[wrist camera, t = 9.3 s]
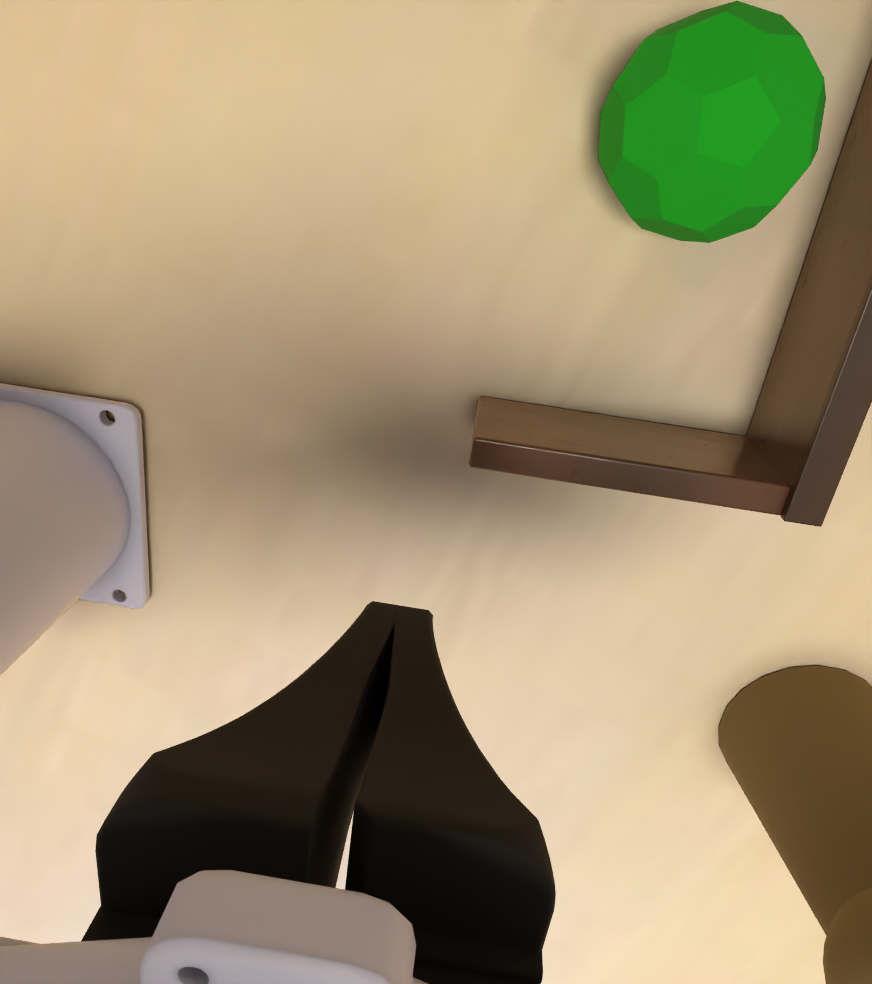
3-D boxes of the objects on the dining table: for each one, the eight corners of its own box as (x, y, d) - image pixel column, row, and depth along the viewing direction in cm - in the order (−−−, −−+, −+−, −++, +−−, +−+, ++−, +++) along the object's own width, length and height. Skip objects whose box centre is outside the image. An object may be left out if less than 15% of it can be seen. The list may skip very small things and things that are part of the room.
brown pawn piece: (805, 637, 25) (1007, 945, 15) (924, 723, 26) (1186, 1066, 16) (684, 737, 27) (787, 1063, 17) (797, 813, 28) (956, 1162, 18)
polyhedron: (614, 258, 20) (644, 280, 16) (567, 75, 19) (586, 45, 14) (795, 194, 19) (879, 199, 15) (763, -7, 18) (848, -68, 13)
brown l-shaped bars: (474, 421, 23) (467, 472, 19) (597, -345, 15) (628, -522, 12) (766, 466, 23) (821, 527, 19) (1034, -292, 15) (1218, -455, 11)
